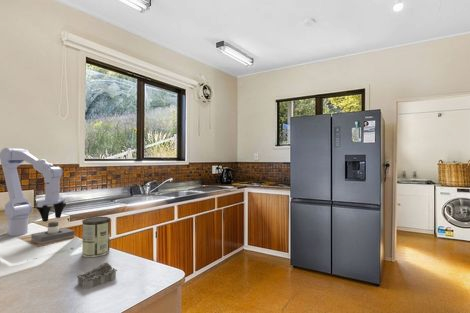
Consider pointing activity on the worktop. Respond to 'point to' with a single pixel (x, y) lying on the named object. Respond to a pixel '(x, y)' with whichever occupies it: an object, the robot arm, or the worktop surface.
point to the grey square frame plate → (52, 236)
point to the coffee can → (96, 236)
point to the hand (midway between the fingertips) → (51, 219)
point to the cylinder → (53, 228)
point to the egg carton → (97, 276)
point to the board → (28, 239)
